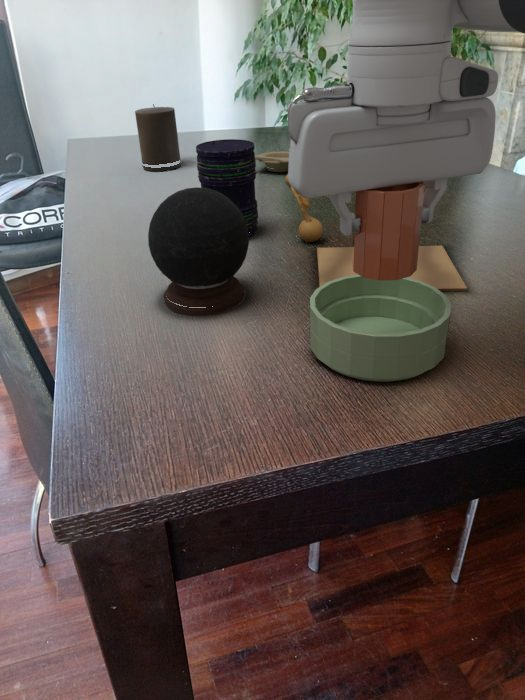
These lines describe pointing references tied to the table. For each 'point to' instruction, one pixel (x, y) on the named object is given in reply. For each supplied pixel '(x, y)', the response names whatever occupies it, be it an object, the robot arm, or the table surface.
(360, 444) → the table surface
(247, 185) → the storage jar
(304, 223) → the figurine
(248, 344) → the table surface
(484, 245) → the table surface
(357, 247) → the cup
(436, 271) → the placemat
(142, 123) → the pillar candle
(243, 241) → the black ball on stand
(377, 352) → the bowl
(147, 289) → the table surface
